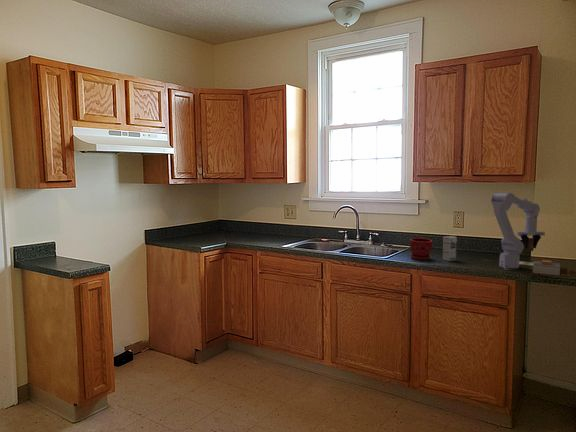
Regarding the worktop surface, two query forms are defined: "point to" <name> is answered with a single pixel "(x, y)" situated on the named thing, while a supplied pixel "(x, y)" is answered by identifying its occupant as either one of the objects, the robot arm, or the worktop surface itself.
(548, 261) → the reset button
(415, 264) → the worktop surface
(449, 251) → the syrup box
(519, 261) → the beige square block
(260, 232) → the worktop surface
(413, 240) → the plant pot
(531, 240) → the brown rectangular block
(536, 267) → the switch box
